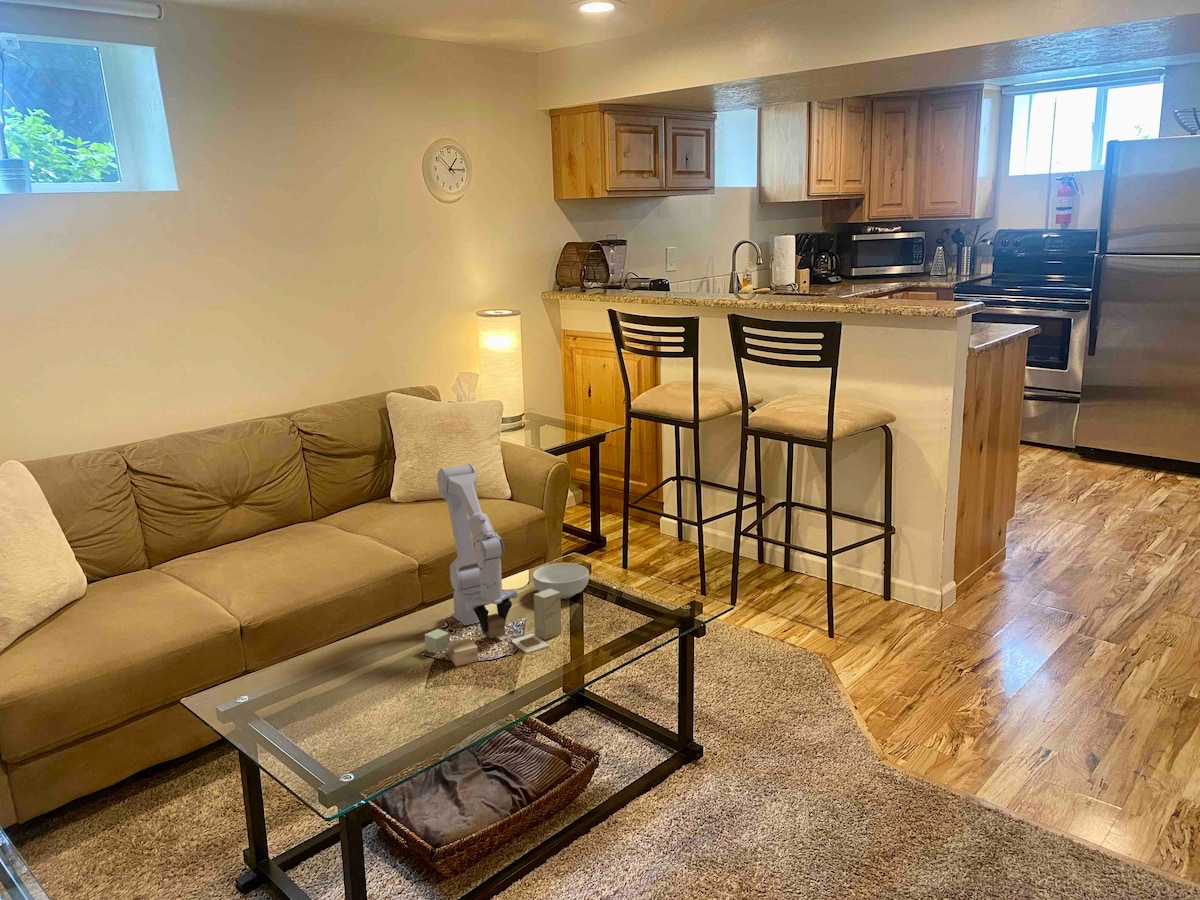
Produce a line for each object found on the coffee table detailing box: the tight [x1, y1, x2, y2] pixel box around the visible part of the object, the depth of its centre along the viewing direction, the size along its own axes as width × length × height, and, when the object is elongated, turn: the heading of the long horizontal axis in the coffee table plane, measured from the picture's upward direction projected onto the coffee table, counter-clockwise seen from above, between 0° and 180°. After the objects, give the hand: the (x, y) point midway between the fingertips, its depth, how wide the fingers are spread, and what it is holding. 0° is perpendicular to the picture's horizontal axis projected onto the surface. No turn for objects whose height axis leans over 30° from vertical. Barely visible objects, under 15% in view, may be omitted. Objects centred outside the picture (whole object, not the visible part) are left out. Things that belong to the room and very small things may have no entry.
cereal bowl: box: [532, 562, 590, 600], centre depth 268 cm, size 17×17×7 cm
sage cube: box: [424, 628, 451, 655], centre depth 233 cm, size 4×4×4 cm
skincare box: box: [533, 588, 562, 641], centre depth 240 cm, size 6×4×12 cm
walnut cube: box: [481, 612, 506, 639], centre depth 239 cm, size 4×4×4 cm
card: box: [511, 633, 551, 655], centre depth 236 cm, size 9×7×1 cm
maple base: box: [447, 637, 479, 667], centre depth 228 cm, size 6×6×4 cm
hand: (493, 628), depth 239 cm, fingers closed on walnut cube, 4 cm apart
